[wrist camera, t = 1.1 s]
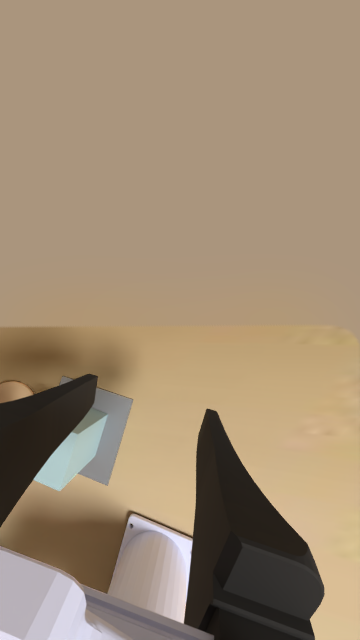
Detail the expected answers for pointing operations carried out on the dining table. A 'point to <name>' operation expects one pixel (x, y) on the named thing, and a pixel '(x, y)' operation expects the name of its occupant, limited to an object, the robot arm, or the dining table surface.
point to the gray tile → (107, 433)
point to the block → (73, 451)
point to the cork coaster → (13, 391)
